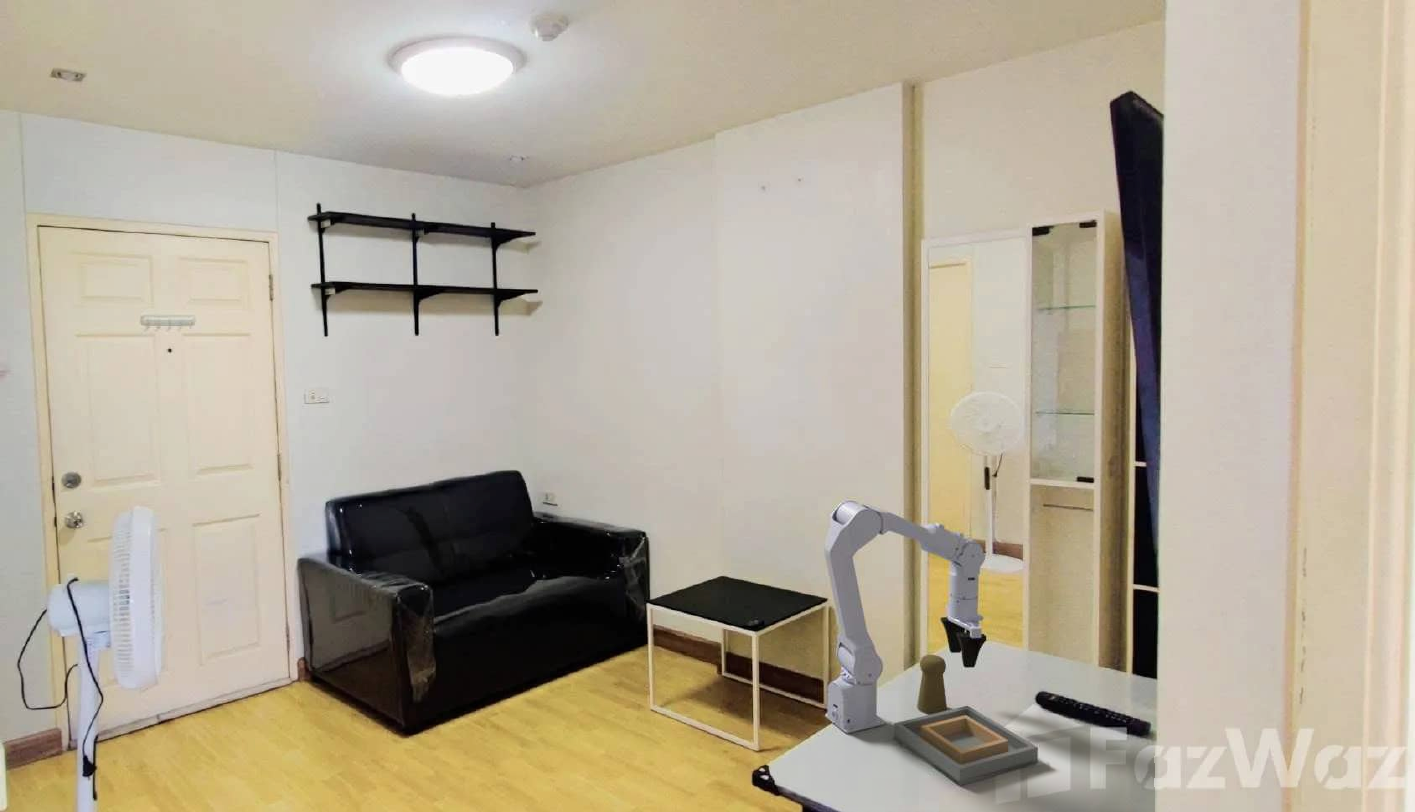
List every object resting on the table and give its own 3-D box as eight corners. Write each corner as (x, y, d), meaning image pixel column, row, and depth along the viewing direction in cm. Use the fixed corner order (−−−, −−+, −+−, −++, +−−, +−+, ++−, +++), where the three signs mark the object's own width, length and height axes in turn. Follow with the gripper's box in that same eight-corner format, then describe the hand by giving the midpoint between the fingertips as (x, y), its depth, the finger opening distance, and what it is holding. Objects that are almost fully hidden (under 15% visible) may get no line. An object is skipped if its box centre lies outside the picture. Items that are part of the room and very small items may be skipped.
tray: (959, 786, 134) (959, 767, 133) (894, 738, 150) (894, 721, 150) (1037, 763, 141) (1037, 745, 141) (967, 720, 157) (967, 704, 157)
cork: (911, 704, 164) (912, 653, 164) (936, 700, 166) (937, 650, 165) (927, 717, 159) (928, 664, 158) (953, 712, 160) (954, 660, 160)
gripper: (997, 606, 154) (995, 673, 155) (969, 584, 168) (967, 645, 169) (962, 607, 154) (960, 674, 155) (937, 584, 168) (935, 646, 169)
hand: (962, 659), depth 162 cm, fingers open, 7 cm apart
